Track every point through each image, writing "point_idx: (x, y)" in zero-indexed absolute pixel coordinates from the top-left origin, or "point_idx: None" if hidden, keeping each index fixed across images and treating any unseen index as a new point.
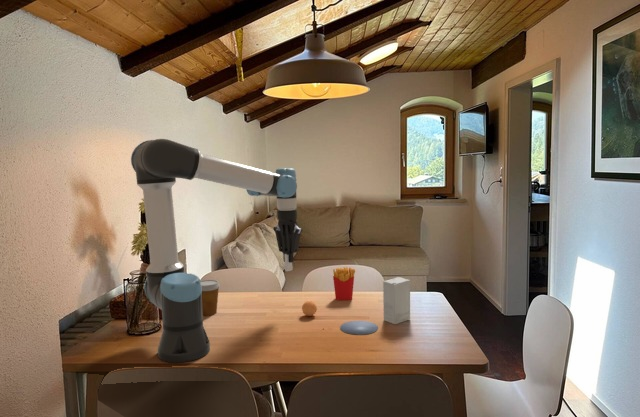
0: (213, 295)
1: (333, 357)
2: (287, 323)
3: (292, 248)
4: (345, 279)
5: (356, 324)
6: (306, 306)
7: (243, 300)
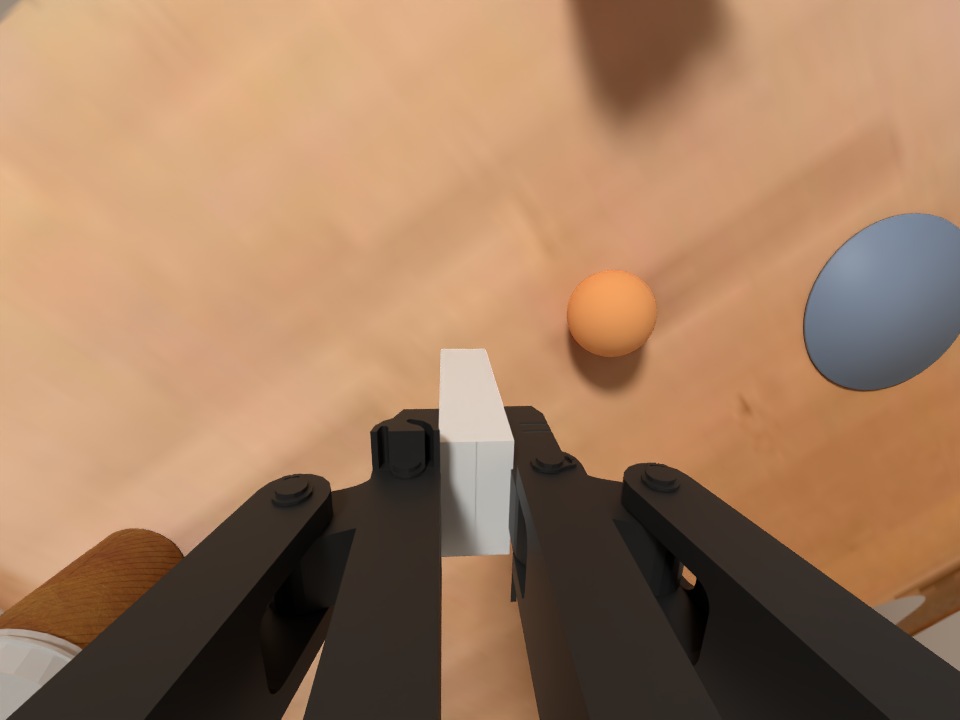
0: None
1: (883, 572)
2: (567, 446)
3: (684, 650)
4: None
5: (870, 282)
6: (623, 354)
7: (64, 319)
